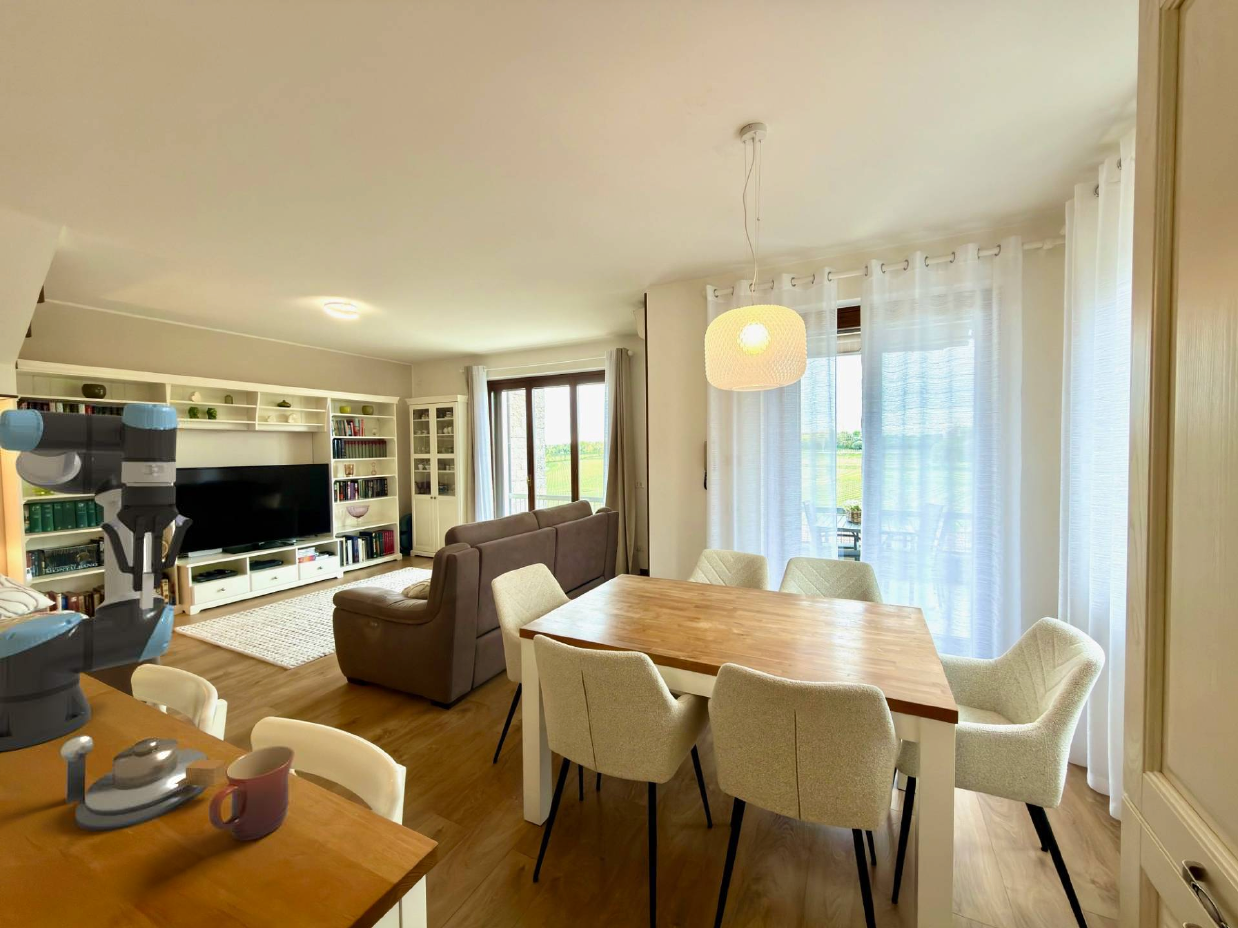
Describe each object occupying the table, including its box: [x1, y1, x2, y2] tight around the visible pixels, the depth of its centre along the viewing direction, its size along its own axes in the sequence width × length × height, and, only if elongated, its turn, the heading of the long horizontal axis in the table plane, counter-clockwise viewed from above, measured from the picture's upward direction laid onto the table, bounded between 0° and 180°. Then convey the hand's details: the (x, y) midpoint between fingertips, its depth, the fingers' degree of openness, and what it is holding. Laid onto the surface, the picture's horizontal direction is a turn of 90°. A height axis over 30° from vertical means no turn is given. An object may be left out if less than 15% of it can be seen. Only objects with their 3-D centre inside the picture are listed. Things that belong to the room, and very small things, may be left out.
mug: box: [208, 745, 295, 841], centre depth 75 cm, size 12×9×10 cm
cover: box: [112, 737, 179, 790], centre depth 83 cm, size 8×8×6 cm
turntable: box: [85, 749, 227, 815], centre depth 83 cm, size 20×15×4 cm
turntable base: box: [74, 757, 211, 832], centre depth 83 cm, size 17×17×2 cm
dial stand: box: [60, 734, 94, 805], centre depth 82 cm, size 3×4×11 cm
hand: (146, 606), depth 93 cm, fingers closed
